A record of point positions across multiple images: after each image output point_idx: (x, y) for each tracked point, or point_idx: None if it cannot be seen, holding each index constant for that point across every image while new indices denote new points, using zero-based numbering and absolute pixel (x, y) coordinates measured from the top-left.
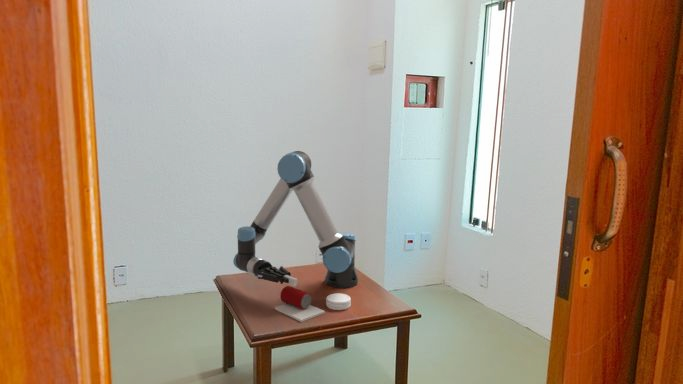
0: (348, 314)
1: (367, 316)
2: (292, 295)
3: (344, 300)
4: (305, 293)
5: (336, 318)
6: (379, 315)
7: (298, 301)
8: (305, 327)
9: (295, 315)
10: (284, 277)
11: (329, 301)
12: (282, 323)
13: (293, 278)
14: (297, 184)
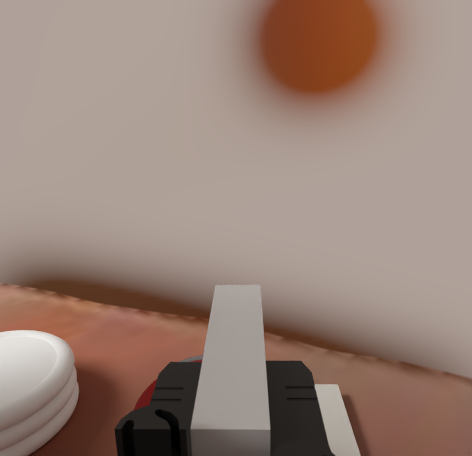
0: (98, 338)
1: (78, 303)
2: None
3: (17, 340)
4: (197, 360)
5: (170, 341)
6: (47, 292)
7: None
8: (348, 357)
9: (335, 438)
10: (274, 432)
11: (65, 376)
12: (455, 442)
13: (238, 302)
14: None
